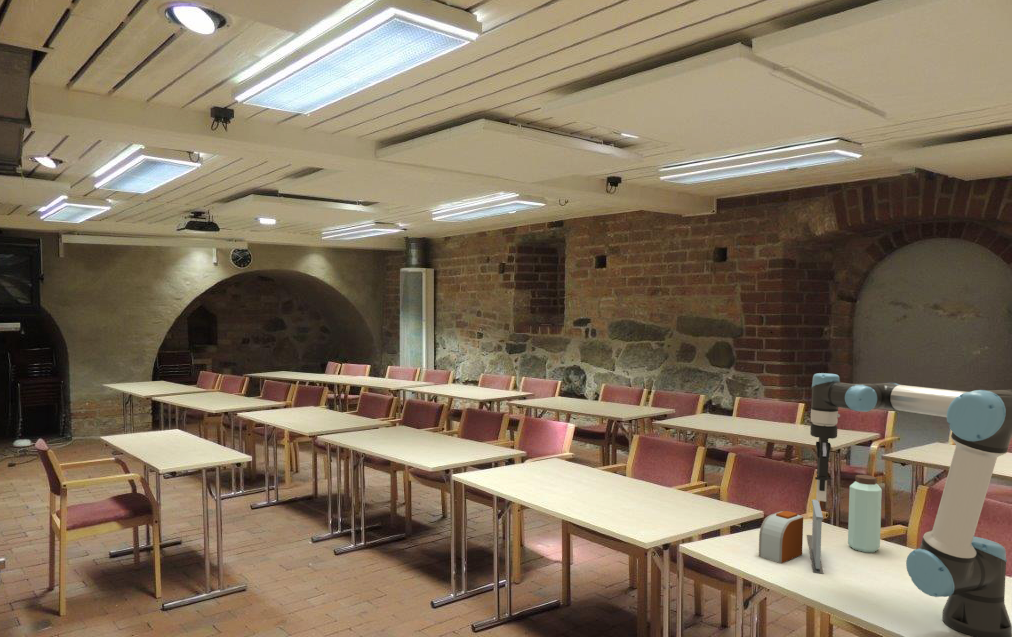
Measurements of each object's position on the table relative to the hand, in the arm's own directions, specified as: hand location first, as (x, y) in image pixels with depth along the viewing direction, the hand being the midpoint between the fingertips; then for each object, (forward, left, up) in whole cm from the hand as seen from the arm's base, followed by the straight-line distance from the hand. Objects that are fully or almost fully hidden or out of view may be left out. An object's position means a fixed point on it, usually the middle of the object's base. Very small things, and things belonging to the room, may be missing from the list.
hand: (821, 500), depth 215 cm
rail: (+23, 0, -24) cm, 33 cm away
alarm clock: (+17, +10, -24) cm, 31 cm away
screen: (+17, 0, -24) cm, 29 cm away
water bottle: (+36, -17, -24) cm, 46 cm away
